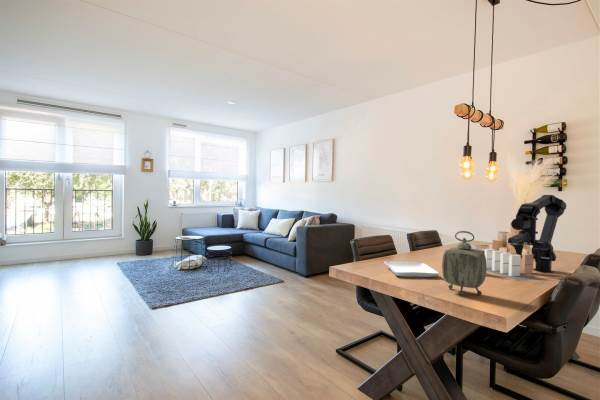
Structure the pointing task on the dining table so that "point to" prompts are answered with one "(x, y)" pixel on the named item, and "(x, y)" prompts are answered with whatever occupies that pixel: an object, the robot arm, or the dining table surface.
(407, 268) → the salad plate
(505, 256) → the domino
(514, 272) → the domino
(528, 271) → the domino
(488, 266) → the domino
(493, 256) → the domino
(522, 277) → the mat
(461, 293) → the tabletop clock
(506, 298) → the dining table surface
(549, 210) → the robot arm
